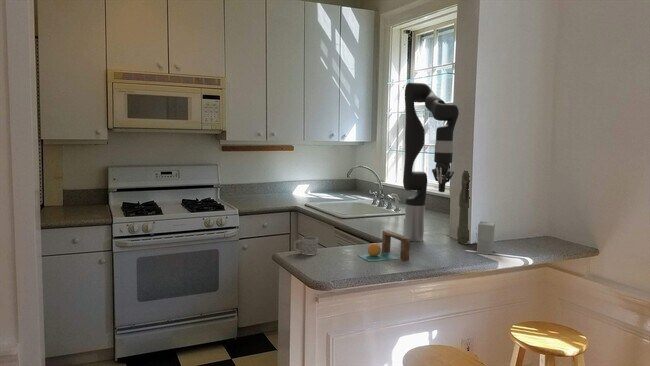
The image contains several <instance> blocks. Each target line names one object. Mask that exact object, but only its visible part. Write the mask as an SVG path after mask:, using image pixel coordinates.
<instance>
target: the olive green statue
mask: <svg viewBox="0 0 650 366" xmlns="http://www.w3.org/2000/svg"><path fill="white" fill-rule="evenodd" d="M463 171H464V172H462V174H461V188H462V189H460V192H459V197H458V200H459V201H458V206H459V215H458V216H459V219H458V226H457V228H456V229H457V230H456V232H457V233H456V237H457V239H456V242H457V241H458V242H462V243H467V242H468V241H469V230H468V208H469V199H470V197H469V190H468V189H469V182H470V180H469V177H470V176H469V173H468V171H465V169H464V170H463ZM458 242H457V243H458ZM462 243H461V244H462Z"/></svg>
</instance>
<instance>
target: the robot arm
mask: <svg viewBox="0 0 650 366" xmlns="http://www.w3.org/2000/svg"><path fill="white" fill-rule="evenodd" d="M415 103H418V104H419V103H424V106H425V108H426V109H427V110H428V112H431V114H432V117H433V119H434V120H436V121H439V122H446V124H445V125H443V126H439V127H437V128H436V130H435V131H436V132H435V144H434V155H433V157H434V159H433V162H434V163H436V164H435V167H434V168H432V169H431V173H432V174H433V178H434V180H435V182H437V184H438V187H437V189H438V192H439V193H445V191H446V184H447V183H450V181H451V179H452V177H453V175H454V173H455V172H454V171H453V170H452V169H451V163H453V153H454V145H453V144H454V143H453V142H454V141H453V140H454V131H455V127H456V123H457V121H458V118H459V114H460V112H459V108H458V106H457V105H456V104H451V103H446V102H445V101H444V100H443V99H442V98H440V97H439V96H437V95H436V94H435V92H434V91H433V90H432V88H431V87H430V86H429V85H428V84H427V83H424V82H408V83H406V86H405V88H404V104H405V105H404V106H405V107H404V109H405V127H404V128H405V130H404V131H405V132H404V166H403V177H402V183H403V184H402V185H403V188H404V190H405V191H409V192H410V191H413V192H414V191H416V193H414V194H413V195H411V196H408V197H406V199H405V205H404V206H405V209H404V210H405V211H404V212H405V213H404V219H403V233H402V234H403V235H402V236H405V237H408V238H410V242H422V241H424V232H425V214H426V213H425V209H426V199H427V189H428V175H427V173H426V171H421V170H419V171H413V167H414V164H415V161H416V159H417V158H418V156H419V154H420V152H421V151H422V150H423V147H424V145H425V138H426V135H425V133H426V131H425V127H424V125H423V124H422V122H421V120H420V118H419V116H418V115H417V112H416V108H415Z"/></svg>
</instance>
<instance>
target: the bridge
mask: <svg viewBox="0 0 650 366" xmlns="http://www.w3.org/2000/svg"><path fill="white" fill-rule="evenodd" d="M381 236H382V239H381V240H382V241H381V253H391V246H392V245H391V242H392V241H391V240H392V239H391V238H393V239H396V240H398V241H400V257H399V261H401V262H409V261H410V250H411V241H410V238H408V237H405V236H403V235H402V234H399V233H396V232H394V231H391V230H389V229H388V230H382V235H381Z"/></svg>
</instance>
